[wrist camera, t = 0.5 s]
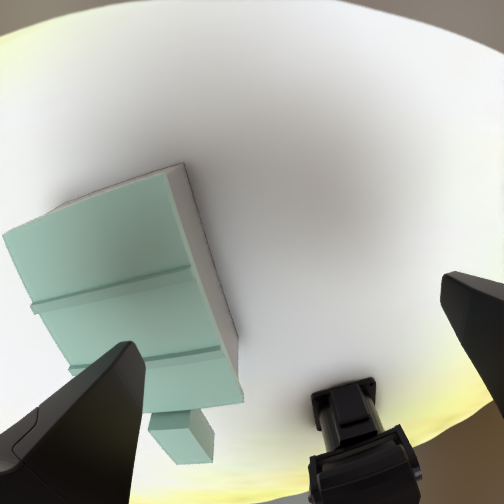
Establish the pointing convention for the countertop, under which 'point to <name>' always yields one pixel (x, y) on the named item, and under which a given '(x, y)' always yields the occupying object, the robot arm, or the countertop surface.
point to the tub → (194, 252)
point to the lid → (132, 304)
